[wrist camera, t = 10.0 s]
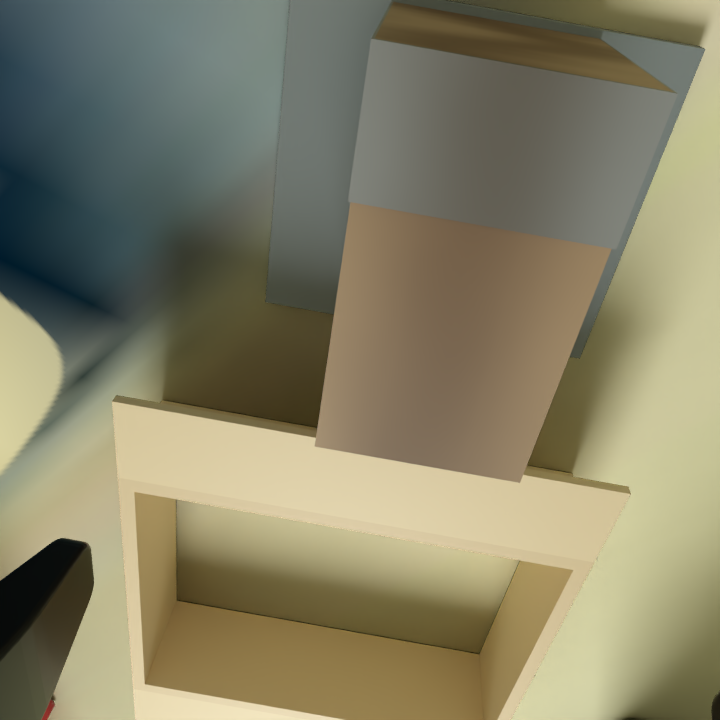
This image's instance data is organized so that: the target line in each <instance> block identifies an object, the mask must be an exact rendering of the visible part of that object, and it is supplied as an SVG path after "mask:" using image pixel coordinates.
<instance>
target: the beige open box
mask: <svg viewBox="0 0 720 720" xmlns="http://www.w3.org/2000/svg"><path fill="white" fill-rule="evenodd" d="M112 407H113V420H114V434H115V448H116V462H117V475H118V489H119V503H120V517H121V530H122V544H123V558H124V572H125V585H126V599H127V613H128V627H129V640H130V654H131V668H132V682H133V695H134V709H135V720H511V719H512V717H513V715H514V713H515V712H516V710H517V708H518V706H519V704H520V702H521V700H522V698H523V696H524V695H525V693H526V691H527V689H528V687H529V685H530V683H531V681H532V680H533V678H534V676H535V674H536V672H537V670H538V668H539V666H540V664H541V663H542V661H543V659H544V657H545V655H546V653H547V651H548V649H549V647H550V646H551V644H552V642H553V640H554V638H555V636H556V634H557V632H558V631H559V629H560V627H561V625H562V623H563V621H564V619H565V617H566V615H567V614H568V612H569V610H570V608H571V606H572V604H573V602H574V600H575V598H576V597H577V595H578V593H579V591H580V589H581V587H582V585H583V583H584V582H585V580H586V578H587V576H588V574H589V572H590V570H591V568H592V566H593V565H594V563H595V561H596V559H597V557H598V555H599V553H600V551H601V550H602V548H603V546H604V544H605V542H606V540H607V538H608V536H609V534H610V533H611V531H612V529H613V527H614V525H615V523H616V521H617V519H618V517H619V516H620V514H621V512H622V510H623V508H624V506H625V504H626V502H627V501H628V499H629V497H630V495H631V493H630V490H629V487H627V486H621V485H616V484H610V483H605V482H599V481H593V480H588V479H582V478H577V477H573V474H572V473H566V472H560V471H555V470H549V469H544V468H538V467H533V466H526V469H525V471H524V474H523V477H522V479H521V482H520V483H518V482H512V481H506V480H501V479H495V478H489V477H484V476H478V475H472V474H467V473H461V472H455V471H450V470H444V469H439V468H433V467H427V466H422V465H416V464H410V463H405V462H399V461H393V460H388V459H382V458H376V457H371V456H365V455H359V454H354V453H348V452H342V451H337V450H331V449H326V448H320V447H315V441H316V434H317V428H314V427H309V426H303V425H298V424H292V423H286V422H281V421H275V420H270V419H264V418H258V417H253V416H247V415H242V414H236V413H231V412H225V411H219V410H214V409H208V408H203V407H197V406H191V405H186V404H180V403H175V402H169V401H163V400H162V401H161V403H157V402H152V401H146V400H140V399H135V398H129V397H124V396H118V395H116V396H115V398H114V399H113V401H112ZM176 499H177V500H183V501H188V502H194V503H200V504H205V505H211V506H217V507H222V508H228V509H233V510H239V511H245V512H250V513H256V514H261V515H267V516H273V517H278V518H284V519H290V520H295V521H301V522H306V523H312V524H318V525H323V526H329V527H334V528H340V529H346V530H351V531H357V532H363V533H368V534H374V535H379V536H385V537H391V538H396V539H402V540H407V541H413V542H419V543H424V544H430V545H436V546H441V547H447V548H452V549H458V550H464V551H469V552H475V553H480V554H486V555H492V556H497V557H503V558H509V559H514V560H520V562H519V564H518V567H517V569H516V571H515V573H514V576H513V578H512V580H511V583H510V585H509V587H508V590H507V592H506V594H505V596H504V599H503V601H502V603H501V606H500V608H499V610H498V613H497V615H496V617H495V620H494V622H493V624H492V626H491V629H490V631H489V633H488V636H487V638H486V640H485V643H484V645H483V647H482V649H481V652H480V654H475V653H469V652H464V651H458V650H452V649H447V648H441V647H435V646H430V645H424V644H418V643H413V642H407V641H402V640H396V639H390V638H385V637H379V636H373V635H368V634H362V633H356V632H351V631H345V630H339V629H334V628H328V627H323V626H317V625H311V624H306V623H300V622H294V621H289V620H283V619H277V618H272V617H266V616H261V615H255V614H249V613H244V612H238V611H232V610H227V609H221V608H215V607H210V606H204V605H199V604H193V603H187V602H182V601H177V578H176Z"/></svg>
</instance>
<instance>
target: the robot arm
mask: <svg viewBox="0 0 720 720" xmlns="http://www.w3.org/2000/svg"><path fill="white" fill-rule="evenodd" d="M93 585H94V576H93V565H92V554H91V548H90V546H89V544H88V543H86V542H82V541H77V540H72V539H66V538H60V539H57V540H55V541H53V542H52V543H51V544H49V545H48V546H46V547H45V548H44V549H42V550H41V551H40V552H38V553H37V554H36V555H34V556H33V557H32V558H30V559H29V560H28V561H26V562H25V563H24V564H22V565H21V566H20V567H18V568H17V569H16V570H14V571H13V572H11V573H10V574H9V575H7V576H6V577H5V578H3V579H2V580H1V581H0V720H42V718H43V715H44V713H45V711H46V709H47V707H48V705H49V702H50V700H51V697H52V695H53V693H54V690H55V688H56V685H57V682H58V680H59V677H60V675H61V672H62V670H63V667H64V665H65V662H66V659H67V657H68V654H69V652H70V649H71V647H72V644H73V641H74V639H75V636H76V634H77V631H78V629H79V626H80V624H81V621H82V618H83V616H84V613H85V611H86V608H87V606H88V603H89V600H90V598H91V595H92V591H93ZM712 720H720V691H719V692H718V693H717V695H716V696H715V698H714V700H713V703H712Z"/></svg>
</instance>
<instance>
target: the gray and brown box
mask: <svg viewBox="0 0 720 720" xmlns="http://www.w3.org/2000/svg"><path fill="white" fill-rule="evenodd" d="M677 95H678V93H676V92H675V91H674V90H672V89H671V88H669V87H668V86H666V85H665V84H664V83H662V82H661V81H659V80H658V79H657V78H655V77H654V76H652V75H651V74H650V73H648V72H647V71H645V70H644V69H643V68H641V67H640V66H638V65H637V64H636V63H634V62H633V61H631V60H630V59H628V58H627V57H626V56H624V55H623V54H621V53H620V52H619V51H617V50H616V49H614V48H613V47H612V46H610V45H609V44H607V43H606V42H605V41H603V40H602V39H598V38H593V37H587V36H581V35H576V34H570V33H565V32H559V31H554V30H548V29H542V28H537V27H531V26H526V25H520V24H515V23H509V22H503V21H498V20H492V19H487V18H481V17H476V16H470V15H464V14H459V13H453V12H448V11H442V10H437V9H431V8H425V7H420V6H414V5H409V4H403V3H398V2H391V3H390V5H389V7H388V9H387V11H386V12H385V14H384V16H383V18H382V20H381V22H380V23H379V25H378V27H377V29H376V31H375V32H374V34H373V36H372V38H371V43H370V50H369V57H368V64H367V71H366V78H365V85H364V91H363V98H362V105H361V112H360V119H359V126H358V133H357V140H356V147H355V154H354V161H353V168H352V175H351V182H350V189H349V195H348V202H350V209H349V216H348V223H347V230H346V236H345V243H344V250H343V257H342V264H341V270H340V277H339V284H338V291H337V298H336V305H335V311H334V318H333V325H332V332H331V339H330V345H329V352H328V359H327V366H326V373H325V379H324V386H323V393H322V400H321V407H320V413H319V420H318V427H317V434H316V441H315V447H320V448H326V449H331V450H337V451H342V452H348V453H354V454H359V455H365V456H371V457H376V458H382V459H388V460H393V461H399V462H405V463H410V464H416V465H422V466H427V467H433V468H439V469H444V470H450V471H455V472H461V473H467V474H472V475H478V476H484V477H489V478H495V479H501V480H506V481H512V482H518V483H520V482H521V479H522V477H523V474H524V471H525V469H526V466H527V464H528V461H529V459H530V456H531V454H532V451H533V448H534V446H535V443H536V441H537V438H538V436H539V433H540V431H541V428H542V426H543V423H544V420H545V418H546V415H547V413H548V410H549V408H550V405H551V403H552V400H553V397H554V395H555V392H556V390H557V387H558V385H559V382H560V380H561V377H562V374H563V372H564V369H565V367H566V364H567V362H568V359H569V357H570V354H571V351H572V349H573V346H574V344H575V341H576V339H577V336H578V334H579V331H580V329H581V326H582V323H583V321H584V318H585V316H586V313H587V311H588V308H589V306H590V303H591V300H592V298H593V295H594V293H595V290H596V288H597V285H598V283H599V280H600V277H601V275H602V272H603V270H604V267H605V265H606V262H607V260H608V257H609V255H610V252H611V249H617V247H618V244H619V241H620V239H621V236H622V234H623V231H624V229H625V226H626V224H627V221H628V219H629V216H630V214H631V211H632V209H633V206H634V204H635V201H636V199H637V196H638V194H639V191H640V188H641V186H642V183H643V181H644V178H645V176H646V173H647V171H648V168H649V166H650V163H651V161H652V158H653V156H654V153H655V151H656V148H657V146H658V143H659V141H660V138H661V135H662V133H663V130H664V128H665V125H666V123H667V120H668V118H669V115H670V113H671V110H672V108H673V105H674V103H675V100H676V98H677Z"/></svg>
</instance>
